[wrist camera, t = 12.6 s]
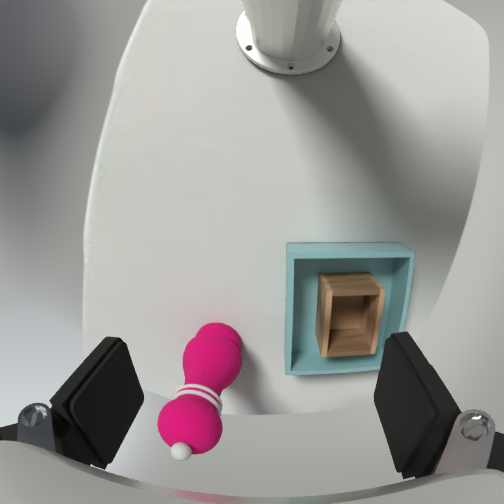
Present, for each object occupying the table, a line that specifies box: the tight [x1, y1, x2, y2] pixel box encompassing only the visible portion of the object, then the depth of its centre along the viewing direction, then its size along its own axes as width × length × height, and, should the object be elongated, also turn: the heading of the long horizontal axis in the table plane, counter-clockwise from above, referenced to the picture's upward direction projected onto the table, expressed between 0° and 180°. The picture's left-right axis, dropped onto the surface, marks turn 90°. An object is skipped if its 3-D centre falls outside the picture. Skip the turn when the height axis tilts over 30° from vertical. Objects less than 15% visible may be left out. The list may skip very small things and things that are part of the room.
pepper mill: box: [158, 323, 242, 461], centre depth 28 cm, size 7×7×20 cm
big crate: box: [285, 242, 415, 375], centre depth 33 cm, size 15×14×5 cm
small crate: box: [315, 272, 386, 357], centre depth 32 cm, size 8×6×6 cm
